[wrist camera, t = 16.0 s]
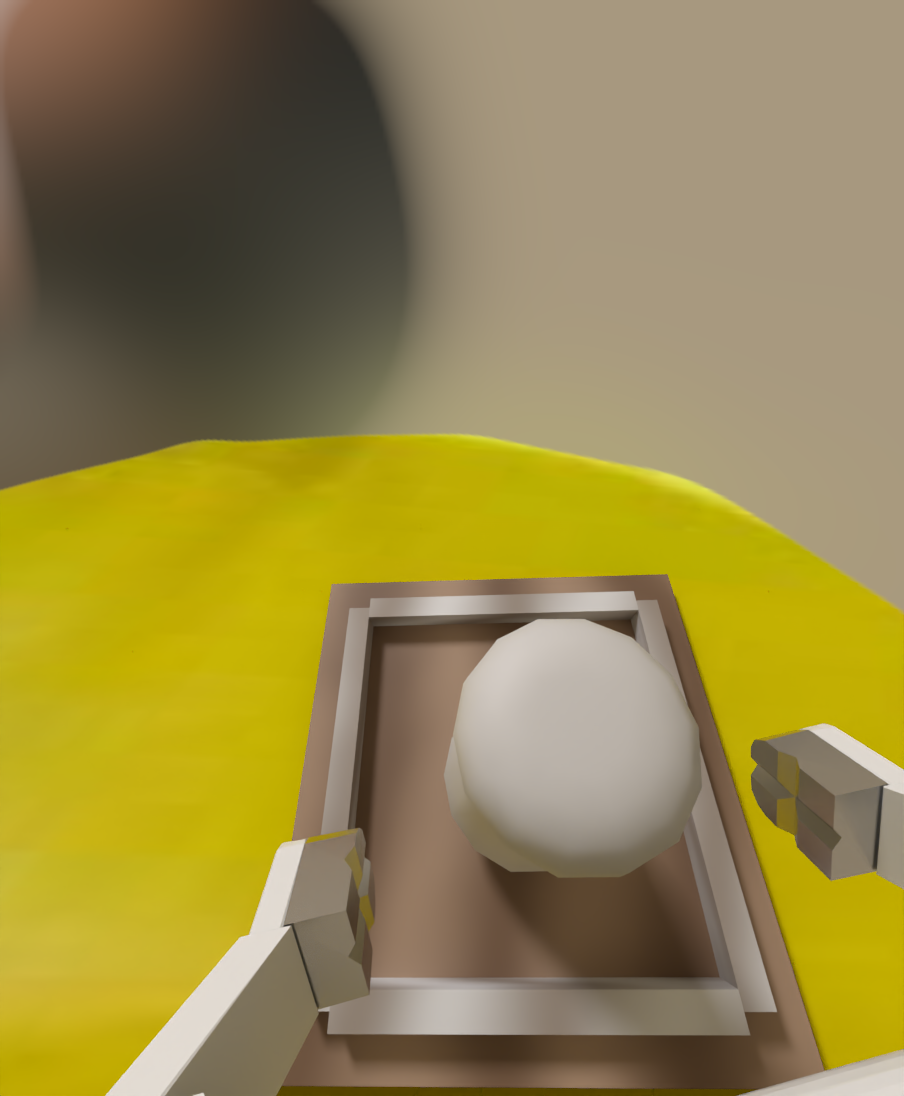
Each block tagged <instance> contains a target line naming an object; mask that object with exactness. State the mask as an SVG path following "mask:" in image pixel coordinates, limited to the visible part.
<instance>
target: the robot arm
mask: <svg viewBox="0 0 904 1096" xmlns="http://www.w3.org/2000/svg"><path fill="white" fill-rule="evenodd" d="M751 757H752V758H753V760H754V761H755V762H756V763H757V764H758V765H757V767H756V768H755V770H754V771H753V773H752V775H751V785H752V791H753V794H754V796H755V798H756V801H757V803H758V805H759V806H760V808H761V809H762V811H763V812H764V814H765V815H766V816H767V817H768V818H769V819H770V820H771V821H772V822H773V823H774V824H775V825H776V826H777V827H778V828H780V829H783V830H785V831H787V832H789V833H791V834H793V835H794V836H795V840H796V844H797V848H799V849H800V850H801V851H802V852H803V853H804V854H805V855H806V856H807V857H808V858H809V859H810V860H811V861H812V862H813V863H814V864H815V865H816V866H817V867H818V868H819V869H820V870H821V871H822V872H823V873H824V874H825V875H826V876H827V877H828V878H829V879H830V880H836V879H841V878H846V877H850V876H855V875H860V874H865V873H870V872H874V871H877V875H879V876H881V877H883V878H885V879H886V880H888V881H890V882H892V883H894V884H896V885H897V886H899V887H901V888H903V889H904V770H903V769H901V768H900V767H898V766H897V765H895V764H893V763H892V762H890V761H889V760H887V759H885V758H884V757H882V756H881V755H879V754H877V753H876V752H874V751H873V750H871V749H869V748H868V747H866V746H865V745H863V744H861V743H860V742H858V741H857V740H855V739H853V738H852V737H850V736H849V735H847V734H845V733H844V732H842V731H841V730H839V729H837V728H836V727H834V726H831V725H828V724H819V725H815V726H811V727H807V728H803V729H800V730H795V731H790V732H786V733H782V734H778V735H773V736H769V737H765V738H760V739H756V740H754V742H753V744H752V746H751ZM365 847H366V842H365V838H364V835H363V831H362V829H360V828H355V829H350V830H344V831H339V832H334V833H329V834H324V835H318V836H313V837H309V838H307V839H302V840H296V841H291V842H285V843H282V844H281V846H280V847H279V849H278V850H277V852H276V855H275V858H274V861H273V864H272V867H271V870H270V873H269V876H268V879H267V882H266V885H265V888H264V891H263V894H262V897H261V900H260V903H259V906H258V909H257V912H256V915H255V918H254V921H253V924H252V927H251V930H250V933H249V935H247V936H243V937H240V938H239V939H238V940H237V941H236V943H235V944H234V945H233V946H232V947H231V948H230V950H229V951H228V952H227V953H226V954H225V956H224V957H223V958H222V959H221V960H220V961H219V963H218V964H217V965H216V966H215V967H214V968H213V970H212V971H211V972H210V973H209V974H208V976H207V977H206V978H205V979H204V980H203V981H202V983H201V984H200V985H199V986H198V987H197V988H196V990H195V991H194V992H193V993H192V994H191V996H190V997H189V998H188V999H187V1000H186V1001H185V1003H184V1004H183V1005H182V1006H181V1007H180V1008H179V1010H178V1011H177V1012H176V1013H175V1014H174V1016H173V1017H172V1018H171V1019H170V1020H169V1021H168V1023H167V1024H166V1025H165V1026H164V1027H163V1028H162V1030H161V1031H160V1032H159V1033H158V1034H157V1036H156V1037H155V1038H154V1039H153V1040H152V1041H151V1043H150V1044H149V1045H148V1046H147V1047H146V1049H145V1050H144V1051H143V1052H142V1053H141V1054H140V1056H139V1057H138V1058H137V1059H136V1060H135V1061H134V1063H133V1064H132V1065H131V1066H130V1067H129V1069H128V1070H127V1071H126V1072H125V1073H124V1074H123V1076H122V1077H121V1078H120V1079H119V1080H118V1081H117V1083H116V1084H115V1085H114V1086H113V1087H112V1089H111V1090H110V1091H109V1092H108V1093H107V1094H106V1096H277V1094H278V1092H279V1090H280V1088H281V1086H282V1084H283V1082H284V1080H285V1078H286V1076H287V1074H288V1072H289V1070H290V1068H291V1066H292V1065H293V1063H294V1061H295V1059H296V1057H297V1055H298V1053H299V1051H300V1049H301V1047H302V1045H303V1043H304V1041H305V1039H306V1037H307V1036H308V1034H309V1032H310V1030H311V1028H312V1026H313V1024H314V1022H315V1020H316V1018H317V1016H318V1014H319V1012H318V1010H319V1009H322V1008H326V1007H329V1006H333V1005H336V1004H340V1003H343V1002H347V1001H350V1000H354V999H357V998H361V997H364V996H368V995H370V981H371V967H372V954H373V948H372V944H371V940H370V936H369V930H370V929H371V927H372V926H373V924H374V922H375V907H376V901H375V882H374V875H373V870H372V866H371V862H370V861H369V860H368V859H366V858H365ZM737 1096H904V1049H902V1050H898V1051H895V1052H891V1053H888V1054H884V1055H880V1056H877V1057H873V1058H870V1059H866V1060H863V1061H859V1062H855V1063H852V1064H848V1065H845V1066H841V1067H837V1068H834V1069H830V1070H827V1071H823V1072H819V1073H816V1074H812V1075H809V1076H805V1077H802V1078H798V1079H794V1080H791V1081H787V1082H784V1083H780V1084H776V1085H773V1086H769V1087H766V1088H762V1089H759V1090H755V1091H751V1092H748V1093H744V1094H741V1095H737Z"/></svg>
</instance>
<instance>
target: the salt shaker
mask: <svg viewBox="0 0 904 1096" xmlns="http://www.w3.org/2000/svg"><path fill="white" fill-rule="evenodd" d="M444 779H445V784H446V789H447V795H448V800H449V806H450V811H451V816H452V817H453V819H454V820H455V822H456V823H457V825H458V826H459V828H460V829H461V830H462V832H463V833H464V835H465V836H466V838H467V839H468V841H469V842H470V844H471V845H472V847H473V848H474V850H475V851H477V852H479V853H480V854H482V855H484V856H485V857H487V858H489V859H490V860H492V861H494V862H495V863H497V864H499V865H500V866H502V867H504V868H505V869H507V870H508V871H510V872H532V871H548V872H549V873H551V874H553V875H554V876H556V877H558V878H582V877H621V876H623V875H626V874H628V873H630V872H632V871H633V870H635V869H636V868H638V867H640V866H641V865H643V864H644V863H646V862H648V861H649V860H651V859H652V858H654V857H655V856H657V855H659V854H660V853H662V852H663V851H665V850H666V849H668V848H670V847H671V846H673V845H674V844H676V843H678V842H679V840H680V838H681V835H682V833H683V831H684V828H685V826H686V824H687V821H688V819H689V817H690V814H691V812H692V810H693V807H694V805H695V802H696V800H697V798H698V795H699V793H700V791H701V788H702V777H701V759H700V741H699V727H698V725H697V723H696V721H695V719H694V717H693V715H692V713H691V711H690V709H689V707H688V705H687V703H686V702H685V700H684V698H683V696H682V694H681V692H680V690H679V688H678V686H677V684H676V682H675V680H674V678H673V676H672V675H671V674H670V673H669V672H668V671H667V670H666V669H665V668H664V667H663V666H662V665H661V664H660V663H659V662H657V661H656V660H655V659H654V658H653V657H652V656H651V655H650V654H649V653H648V652H647V651H646V650H645V649H644V648H643V647H641V646H640V645H639V644H638V643H637V642H636V641H635V640H634V639H633V638H632V637H630V636H627V635H624V634H622V633H619V632H617V631H614V630H612V629H609V628H606V627H604V626H601V625H599V624H596V623H594V622H591V621H588V620H586V619H537V620H535V621H533V622H531V623H529V624H527V625H525V626H523V627H521V628H519V629H517V630H515V631H513V632H511V633H509V634H507V635H505V636H503V637H501V638H499V639H497V640H496V642H495V643H494V644H493V646H492V647H491V648H490V649H489V651H488V652H487V653H486V654H485V656H484V657H483V658H482V660H481V661H480V662H479V663H478V665H477V666H476V667H475V668H474V670H473V671H472V672H471V673H470V675H469V676H468V677H467V679H466V680H465V681H464V683H463V687H462V692H461V697H460V702H459V707H458V712H457V717H456V722H455V727H454V732H453V737H452V739H451V743H450V748H449V753H448V758H447V762H446V767H445V772H444Z"/></svg>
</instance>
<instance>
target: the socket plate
mask: <svg viewBox="0 0 904 1096" xmlns="http://www.w3.org/2000/svg"><path fill="white" fill-rule="evenodd" d="M537 619H586V620H588V621H591V622H594V623H596V624H599V625H601V626H604V627H606V628H609V629H612V630H614V631H617V632H619V633H622V634H624V635H627V636H630V637H632V638H633V639H634V640H635V641H636V642H637V643H638V644H639V645H640V646H641V647H643V648H644V649H645V650H646V651H647V652H648V653H649V654H650V655H651V656H652V657H653V658H654V659H655V660H656V661H657V662H659V663H660V664H661V665H662V666H663V667H664V668H665V669H666V670H667V671H668V672H669V673H670V674H671V675H672V676H673V678H674V680H675V682H676V684H677V686H678V688H679V690H680V692H681V694H682V696H683V698H684V700H685V702H686V703H687V705H688V707H689V709H690V711H691V713H692V715H693V717H694V719H695V721H696V723H697V725H698V727H699V741H700V759H701V777H702V788H701V791H700V793H699V795H698V798H697V800H696V802H695V805H694V807H693V810H692V812H691V814H690V817H689V819H688V821H687V824H686V826H685V828H684V831H683V833H682V835H681V838H680V840H679V842H678V843H676V844H674V845H673V846H671V847H670V848H668V849H666V850H665V851H663V852H662V853H660V854H659V855H657V856H655V857H654V858H652V859H651V860H649V861H648V862H646V863H644V864H643V865H641V866H640V867H638V868H636V869H635V870H633V871H632V872H630V873H628V874H626V875H623V876H621V877H582V878H558V877H556V876H554V875H553V874H551V873H549V872H548V871H532V872H510V871H508V870H507V869H505V868H504V867H502V866H500V865H499V864H497V863H495V862H494V861H492V860H490V859H489V858H487V857H485V856H484V855H482V854H480V853H479V852H477V851H475V850H474V848H473V847H472V845H471V844H470V842H469V841H468V839H467V838H466V836H465V835H464V833H463V832H462V830H461V829H460V828H459V826H458V825H457V823H456V822H455V820H454V819H453V817H452V816H451V811H450V806H449V800H448V795H447V789H446V784H445V779H444V772H445V767H446V762H447V758H448V753H449V748H450V743H451V739H452V737H453V732H454V727H455V722H456V717H457V712H458V707H459V702H460V697H461V692H462V687H463V683H464V681H465V680H466V679H467V677H468V676H469V675H470V673H471V672H472V671H473V670H474V668H475V667H476V666H477V665H478V663H479V662H480V661H481V660H482V658H483V657H484V656H485V654H486V653H487V652H488V651H489V649H490V648H491V647H492V646H493V644H494V643H495V642H496V640H497V639H499V638H501V637H503V636H505V635H507V634H509V633H511V632H513V631H515V630H517V629H519V628H521V627H523V626H525V625H527V624H529V623H531V622H533V621H535V620H537ZM355 828H360V829H362V831H363V835H364V838H365V842H366V847H365V858H366V859H368V860H369V861H370V862H371V866H372V870H373V875H374V882H375V901H376V907H375V922H374V924H373V926H372V927H371V929H370V930H369V936H370V940H371V944H372V948H373V954H372V967H371V981H370V995H368V996H364V997H361V998H357V999H354V1000H350V1001H347V1002H343V1003H340V1004H336V1005H333V1006H329V1007H326V1008H322V1009H319V1010H318V1012H319V1014H318V1016H317V1018H316V1020H315V1022H314V1024H313V1026H312V1028H311V1030H310V1032H309V1034H308V1036H307V1037H306V1039H305V1041H304V1043H303V1045H302V1047H301V1049H300V1051H299V1053H298V1055H297V1057H296V1059H295V1061H294V1063H293V1065H292V1066H291V1068H290V1070H289V1072H288V1074H287V1076H286V1078H285V1080H284V1082H283V1084H282V1086H366V1087H514V1088H663V1089H762V1088H766V1087H769V1086H773V1085H776V1084H780V1083H784V1082H787V1081H791V1080H794V1079H798V1078H802V1077H805V1076H809V1075H812V1074H816V1073H819V1072H823V1071H824V1067H823V1064H822V1061H821V1058H820V1055H819V1052H818V1048H817V1045H816V1042H815V1039H814V1036H813V1033H812V1029H811V1026H810V1023H809V1020H808V1017H807V1014H806V1011H805V1007H804V1004H803V1001H802V998H801V995H800V992H799V988H798V985H797V982H796V979H795V976H794V973H793V970H792V966H791V963H790V960H789V957H788V954H787V951H786V947H785V944H784V941H783V938H782V935H781V932H780V928H779V925H778V922H777V919H776V916H775V913H774V910H773V906H772V903H771V900H770V897H769V894H768V891H767V887H766V884H765V881H764V878H763V875H762V872H761V868H760V865H759V862H758V859H757V856H756V853H755V850H754V846H753V843H752V840H751V837H750V834H749V831H748V827H747V824H746V821H745V818H744V815H743V812H742V808H741V805H740V802H739V799H738V796H737V793H736V790H735V786H734V783H733V780H732V777H731V774H730V771H729V767H728V764H727V761H726V758H725V755H724V752H723V748H722V745H721V742H720V739H719V736H718V733H717V730H716V726H715V723H714V720H713V717H712V714H711V711H710V707H709V704H708V701H707V698H706V695H705V692H704V689H703V685H702V682H701V679H700V676H699V673H698V670H697V666H696V663H695V660H694V657H693V654H692V651H691V647H690V644H689V641H688V638H687V635H686V632H685V629H684V625H683V622H682V619H681V616H680V613H679V610H678V606H677V603H676V600H675V597H674V594H673V591H672V587H671V584H670V581H669V578H668V575H667V574H666V575H631V576H597V577H562V578H528V579H493V580H459V581H424V582H390V583H355V584H332V587H331V593H330V600H329V606H328V613H327V619H326V626H325V632H324V638H323V645H322V651H321V658H320V664H319V670H318V677H317V683H316V690H315V696H314V703H313V709H312V715H311V722H310V728H309V735H308V741H307V747H306V754H305V760H304V767H303V773H302V780H301V786H300V792H299V799H298V805H297V812H296V818H295V825H294V831H293V837H292V841H296V840H302V839H307V838H309V837H313V836H318V835H324V834H329V833H334V832H339V831H344V830H350V829H355Z"/></svg>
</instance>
